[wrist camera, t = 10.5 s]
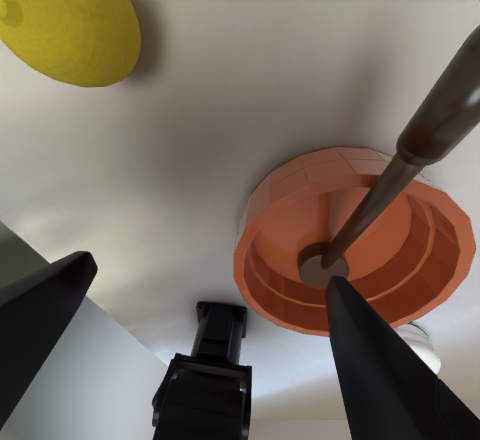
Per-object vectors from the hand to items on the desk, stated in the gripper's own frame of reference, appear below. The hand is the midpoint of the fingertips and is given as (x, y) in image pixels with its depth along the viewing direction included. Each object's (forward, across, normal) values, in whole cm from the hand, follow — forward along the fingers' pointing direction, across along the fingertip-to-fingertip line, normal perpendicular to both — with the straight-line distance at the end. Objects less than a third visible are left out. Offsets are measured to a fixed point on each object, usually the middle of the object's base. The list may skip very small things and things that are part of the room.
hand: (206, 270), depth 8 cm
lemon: (+12, +8, -8) cm, 17 cm away
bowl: (+12, -8, +6) cm, 16 cm away
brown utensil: (+11, -8, +2) cm, 14 cm away
